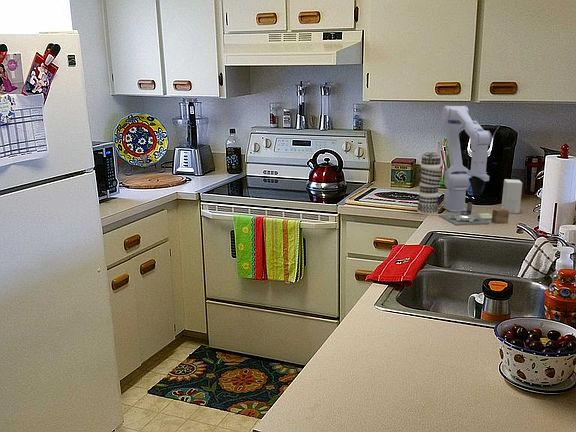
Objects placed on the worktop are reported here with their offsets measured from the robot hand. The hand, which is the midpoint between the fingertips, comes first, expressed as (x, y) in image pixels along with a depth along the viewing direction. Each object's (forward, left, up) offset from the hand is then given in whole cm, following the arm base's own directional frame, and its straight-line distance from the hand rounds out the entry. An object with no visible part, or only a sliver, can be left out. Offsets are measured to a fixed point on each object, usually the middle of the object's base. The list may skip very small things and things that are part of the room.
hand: (476, 196), depth 243 cm
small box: (-11, +22, -10) cm, 27 cm away
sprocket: (+1, -5, -9) cm, 11 cm away
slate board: (+1, -5, -9) cm, 11 cm away
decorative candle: (-14, -14, -10) cm, 22 cm away
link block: (+6, +8, -10) cm, 14 cm away
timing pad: (-2, +6, -9) cm, 11 cm away
